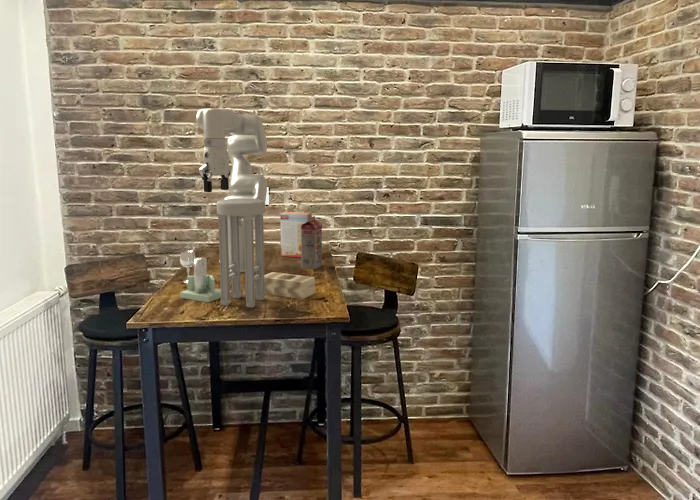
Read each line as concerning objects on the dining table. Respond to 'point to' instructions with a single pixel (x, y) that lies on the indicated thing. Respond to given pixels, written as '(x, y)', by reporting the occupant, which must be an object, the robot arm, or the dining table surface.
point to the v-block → (204, 297)
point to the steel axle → (200, 275)
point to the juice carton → (311, 244)
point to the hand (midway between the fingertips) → (216, 190)
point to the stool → (234, 211)
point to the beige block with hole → (289, 285)
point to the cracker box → (292, 232)
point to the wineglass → (187, 260)
